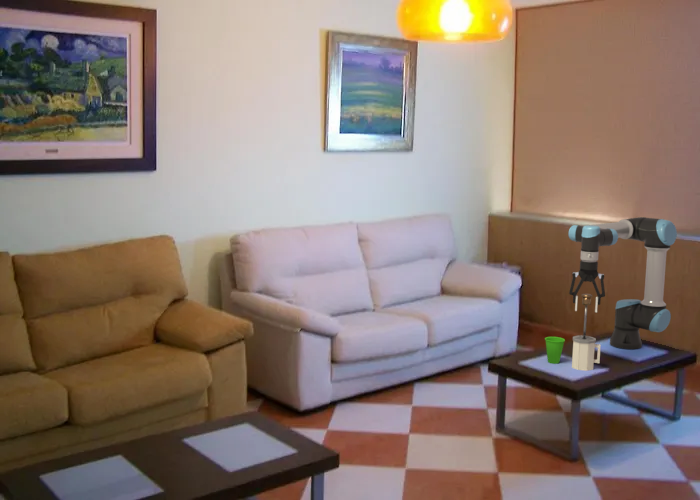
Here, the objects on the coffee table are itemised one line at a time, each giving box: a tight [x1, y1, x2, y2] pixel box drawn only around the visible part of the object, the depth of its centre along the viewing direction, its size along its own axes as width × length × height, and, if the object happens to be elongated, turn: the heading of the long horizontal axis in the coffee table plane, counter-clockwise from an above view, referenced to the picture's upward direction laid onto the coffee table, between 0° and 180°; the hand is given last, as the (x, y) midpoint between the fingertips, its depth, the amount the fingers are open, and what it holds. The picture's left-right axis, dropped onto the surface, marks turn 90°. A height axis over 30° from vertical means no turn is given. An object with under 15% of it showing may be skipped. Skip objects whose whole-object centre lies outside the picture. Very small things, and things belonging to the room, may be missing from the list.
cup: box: [544, 336, 566, 365], centre depth 374 cm, size 9×9×11 cm
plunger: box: [581, 293, 593, 339], centre depth 364 cm, size 6×6×22 cm
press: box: [571, 334, 601, 372], centre depth 367 cm, size 10×12×14 cm
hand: (585, 311), depth 364 cm, fingers open, 8 cm apart
